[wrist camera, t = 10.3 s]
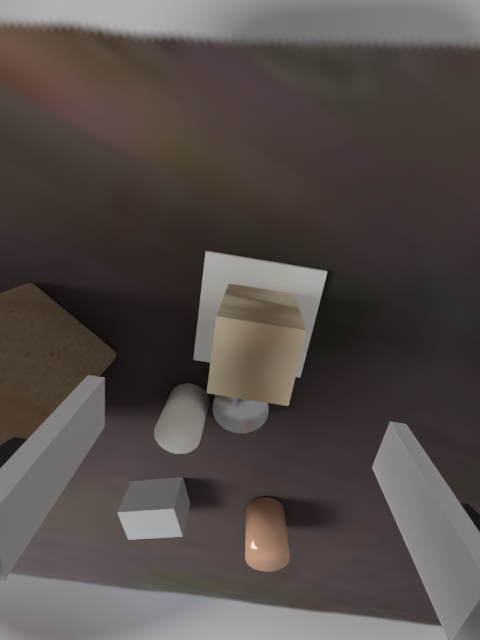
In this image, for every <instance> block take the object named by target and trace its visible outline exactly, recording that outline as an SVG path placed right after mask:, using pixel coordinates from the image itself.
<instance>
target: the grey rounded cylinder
mask: <svg viewBox="0 0 480 640" xmlns="http://www.w3.org/2000/svg"><path fill="white" fill-rule="evenodd" d="M208 407H209V397H208V395H207V393H206V392H205V391H204V390H203V389H202V388H201V387H199V386H197V385H195V384H189V383H186V384H181V385H178V386H177V387H175V388H174V389H173V390H172V392H171V394H170V396H169V398H168V400H167V402H166V405H165V407H164V409H163V411H162V413H161V415H160V418H159V420H158V422H157V424H156V426H155V429H154V436H155V439H156V441H157V443H158V444H159V445H160V446H161V447H162V448H163V449H165V450H166V451H169V452H171V453H175V454H185V453H189V452H191V451H193V450H194V449H195V448H196V447H197V446H198V445H199V443H200V439H201V435H202V431H203V427H204V423H205V419H206V415H207V411H208Z"/></svg>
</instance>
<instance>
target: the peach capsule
mask: <svg viewBox="0 0 480 640" xmlns="http://www.w3.org/2000/svg"><path fill="white" fill-rule="evenodd" d="M245 559H246V562H247V564H248V565H249V566H250V567H252V568H254V569H256V570H259V571H265V572H270V571H276V570H279V569H282V568H283V567H285V566H286V565H287V564H288V562H289V560H290V555H289V547H288V538H287V529H286V520H285V511H284V507H283V505H282V504H281V503H280V502H279V501H278V500H276V499H273V498H269V497H261V498H257V499H254V500H252V501H251V502H250V503H249V504H248V505H247V507H246V540H245Z"/></svg>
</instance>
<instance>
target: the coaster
mask: <svg viewBox="0 0 480 640" xmlns="http://www.w3.org/2000/svg"><path fill="white" fill-rule="evenodd" d="M326 276H327V271H326V270H322V269H316V268H310V267H304V266H297V265H291V264H285V263H279V262H273V261H267V260H261V259H255V258H249V257H243V256H237V255H231V254H225V253H219V252H213V251H206V253H205V262H204V270H203V279H202V288H201V297H200V305H199V314H198V323H197V331H196V340H195V349H194V358H193V360H197V361H203V362H209V363H210V362H211V354H212V346H213V338H214V330H215V322H216V316H217V313H218V310H219V308H220V305H221V302H222V300H223V297H224V294H225V292H226V289H227V286H228V284H235V285H241V286H248V287H254V288H260V289H267V290H273V291H280V292H286V293H292V294H294V296H295V299H296V302H297V304H298V307H299V310H300V313H301V316H302V319H303V322H304V324H305V327H306V330H307V331H306V335H305V339H304V344H303V348H302V352H301V356H300V360H299V365H298V369H297V373H296V377H299V378H300V377H301V373H302V369H303V365H304V362H305V358H306V354H307V350H308V346H309V342H310V338H311V334H312V330H313V327H314V323H315V319H316V315H317V311H318V307H319V303H320V299H321V295H322V292H323V288H324V284H325V280H326Z"/></svg>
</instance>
